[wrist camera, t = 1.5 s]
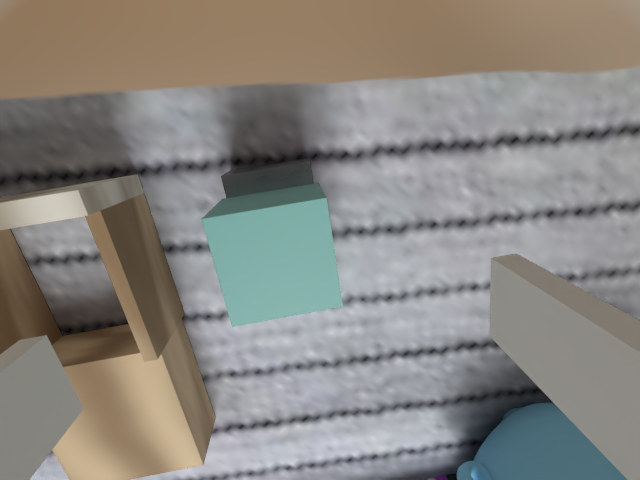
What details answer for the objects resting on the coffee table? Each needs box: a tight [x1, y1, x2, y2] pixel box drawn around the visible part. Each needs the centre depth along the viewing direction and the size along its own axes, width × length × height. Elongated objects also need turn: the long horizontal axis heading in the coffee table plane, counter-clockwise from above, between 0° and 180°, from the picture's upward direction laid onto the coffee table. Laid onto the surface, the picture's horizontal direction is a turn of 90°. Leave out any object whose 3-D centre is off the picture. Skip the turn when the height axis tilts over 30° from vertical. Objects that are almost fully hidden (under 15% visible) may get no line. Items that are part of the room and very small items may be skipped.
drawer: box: [0, 174, 215, 480], centre depth 20 cm, size 10×20×6 cm, turn 9°
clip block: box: [202, 183, 343, 327], centre depth 17 cm, size 6×6×4 cm
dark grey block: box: [221, 158, 314, 198], centre depth 21 cm, size 5×8×3 cm, turn 9°
